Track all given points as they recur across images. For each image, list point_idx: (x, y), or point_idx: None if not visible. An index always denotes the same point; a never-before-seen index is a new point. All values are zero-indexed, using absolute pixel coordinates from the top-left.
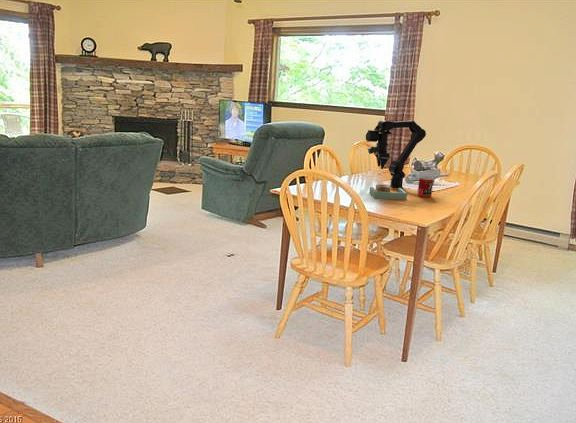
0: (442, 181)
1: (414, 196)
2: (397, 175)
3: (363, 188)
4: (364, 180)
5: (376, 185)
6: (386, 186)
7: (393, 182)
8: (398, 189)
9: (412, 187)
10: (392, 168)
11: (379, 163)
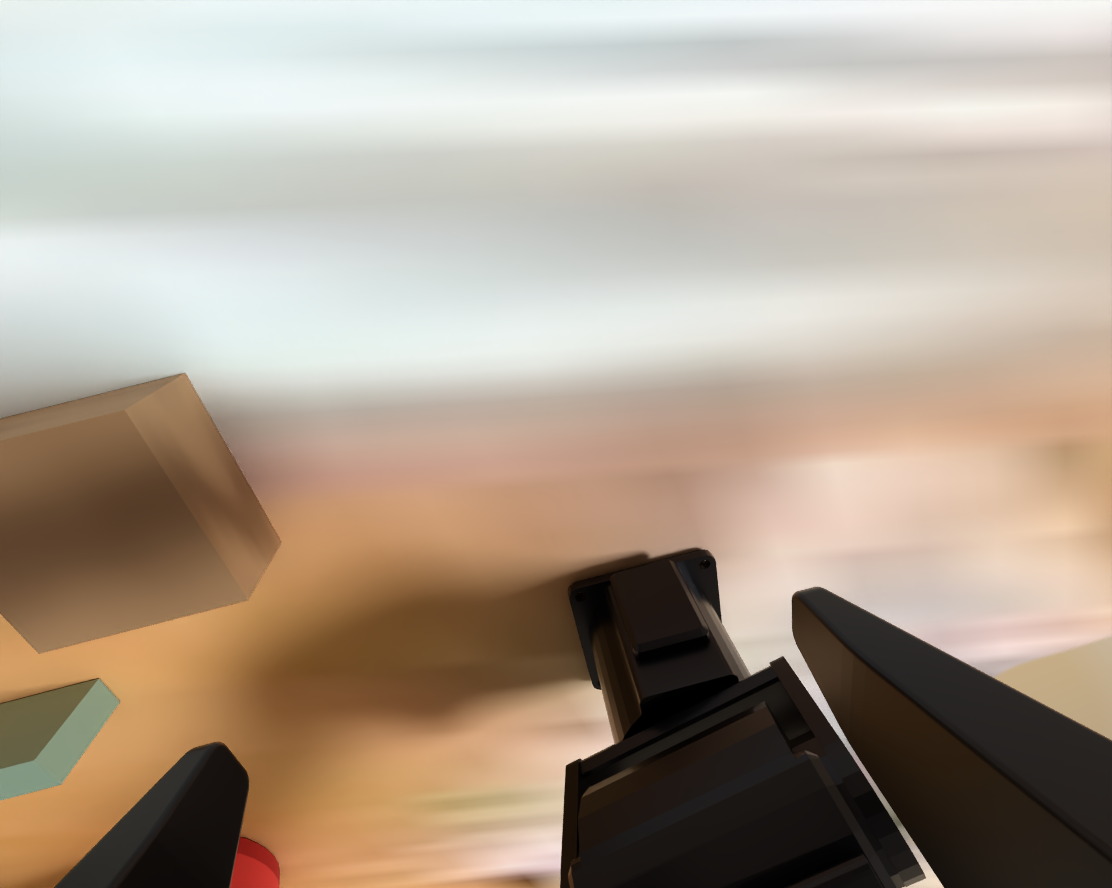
0: None
1: (118, 816)
2: (565, 804)
3: (168, 116)
4: (1073, 107)
5: (67, 422)
6: (95, 595)
7: (616, 633)
8: (40, 744)
9: None
10: (669, 876)
11: (875, 728)
